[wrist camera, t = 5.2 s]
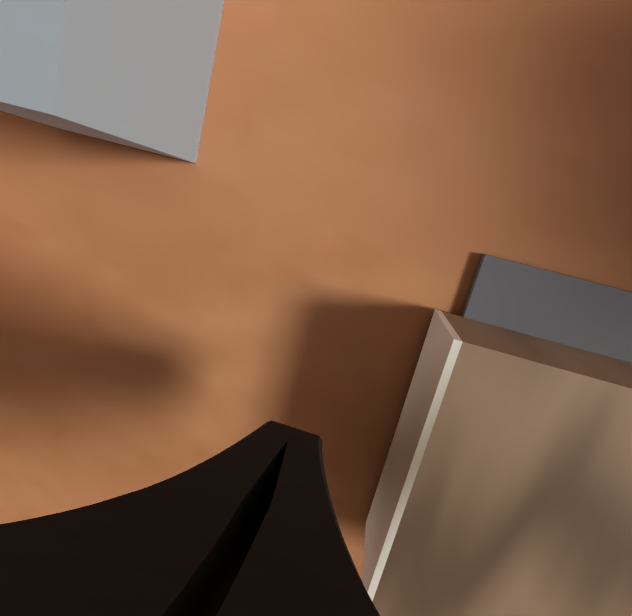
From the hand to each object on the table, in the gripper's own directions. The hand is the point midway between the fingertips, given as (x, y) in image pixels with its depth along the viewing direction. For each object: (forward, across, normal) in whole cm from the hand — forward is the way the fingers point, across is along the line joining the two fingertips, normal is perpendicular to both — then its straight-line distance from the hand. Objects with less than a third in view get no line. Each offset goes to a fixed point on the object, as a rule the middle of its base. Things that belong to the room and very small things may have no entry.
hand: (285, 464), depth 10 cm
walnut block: (+2, -3, 0) cm, 4 cm away
